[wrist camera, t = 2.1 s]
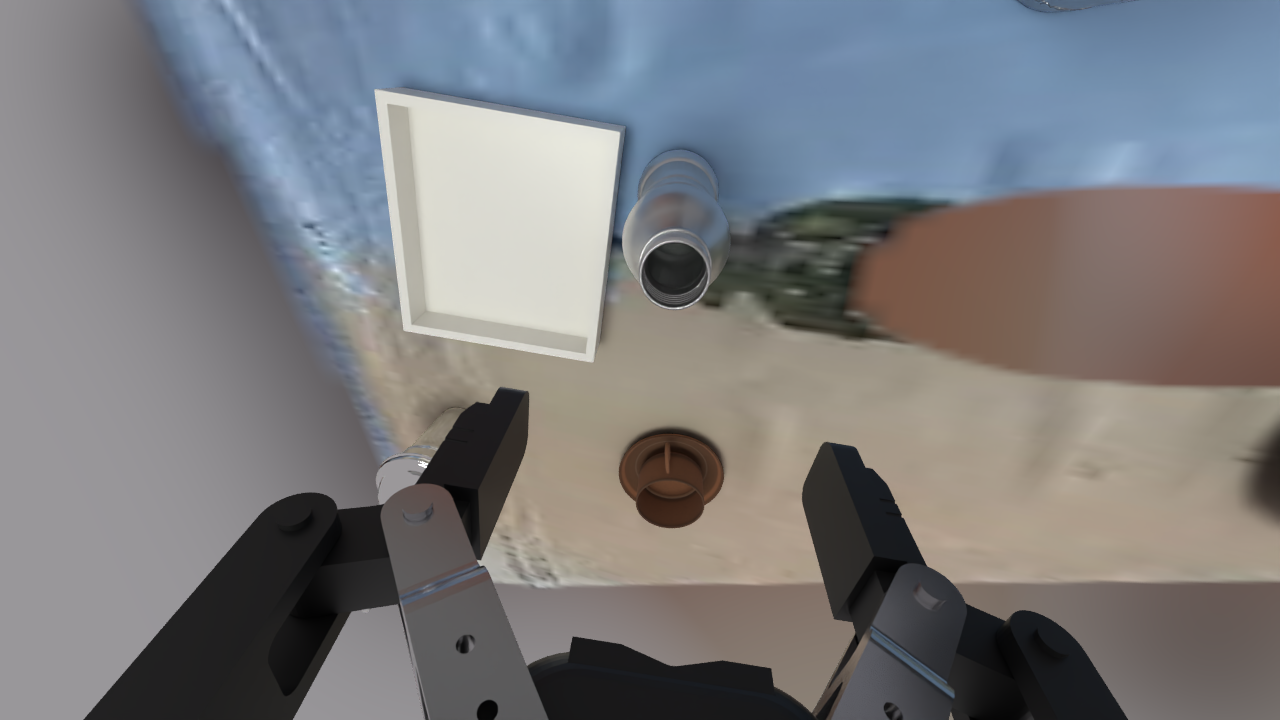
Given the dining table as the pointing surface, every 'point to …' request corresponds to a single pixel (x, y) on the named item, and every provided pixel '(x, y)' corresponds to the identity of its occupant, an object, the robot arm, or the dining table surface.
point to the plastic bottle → (676, 230)
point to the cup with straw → (413, 458)
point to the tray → (500, 220)
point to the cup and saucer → (671, 478)
